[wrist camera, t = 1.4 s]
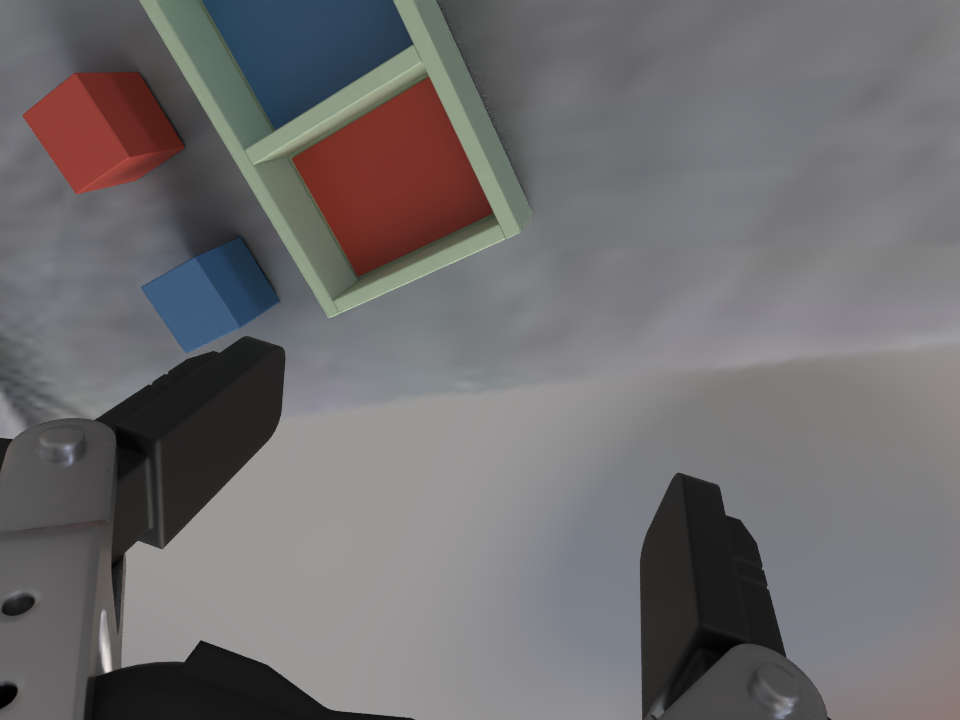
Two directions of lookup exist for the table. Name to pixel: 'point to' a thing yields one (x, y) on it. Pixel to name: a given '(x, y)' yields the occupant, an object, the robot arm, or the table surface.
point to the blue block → (211, 295)
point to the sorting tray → (350, 134)
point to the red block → (103, 129)
